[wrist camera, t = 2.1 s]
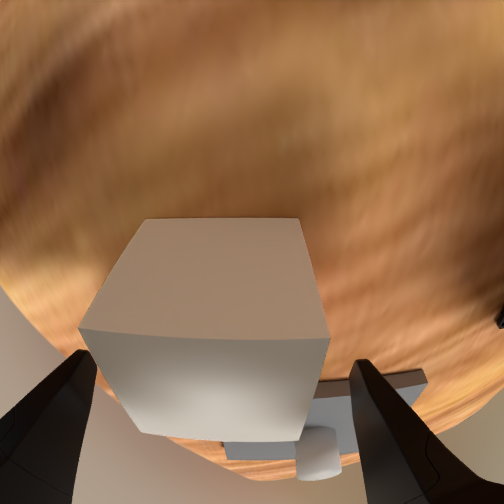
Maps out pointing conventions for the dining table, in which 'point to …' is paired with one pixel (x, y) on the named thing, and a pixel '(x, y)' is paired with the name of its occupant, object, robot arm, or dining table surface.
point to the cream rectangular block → (212, 329)
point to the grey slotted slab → (324, 429)
